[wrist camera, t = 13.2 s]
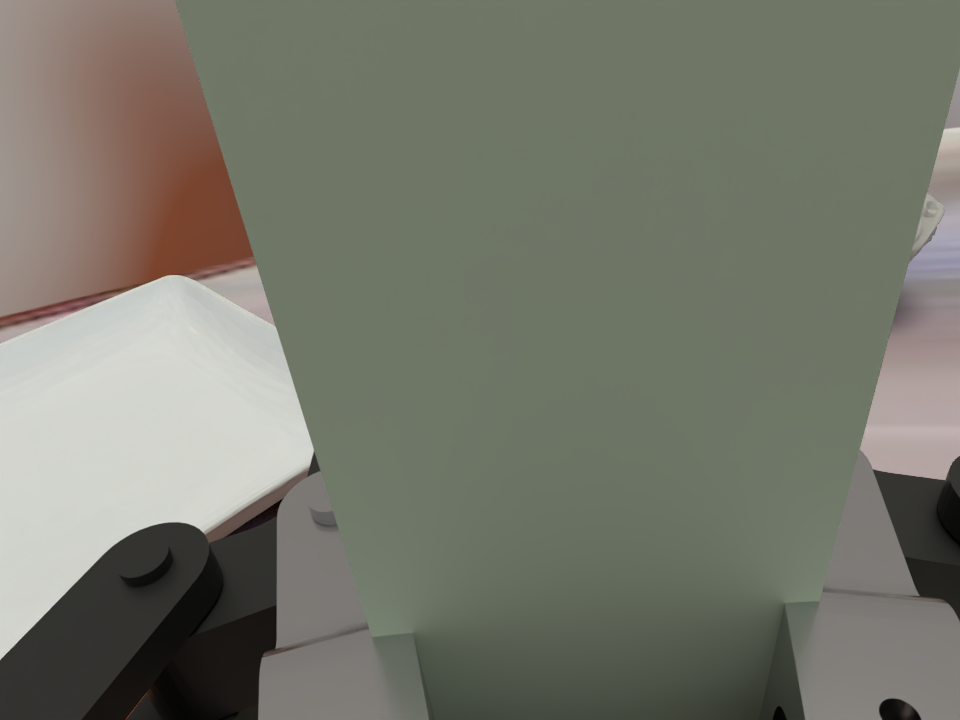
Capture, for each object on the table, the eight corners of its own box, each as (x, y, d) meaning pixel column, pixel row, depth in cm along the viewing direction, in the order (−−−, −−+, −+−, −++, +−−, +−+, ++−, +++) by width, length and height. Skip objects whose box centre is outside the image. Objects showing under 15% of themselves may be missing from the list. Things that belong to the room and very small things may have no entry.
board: (626, 649, 17) (644, -132, 9) (706, 1029, 12) (1024, -172, 3) (485, 660, 18) (360, -98, 9) (497, 1040, 12) (153, -64, 3)
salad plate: (424, 451, 31) (412, 389, 29) (-144, 880, 19) (-230, 823, 17) (193, 314, 44) (174, 264, 42) (-232, 519, 32) (-287, 463, 30)
